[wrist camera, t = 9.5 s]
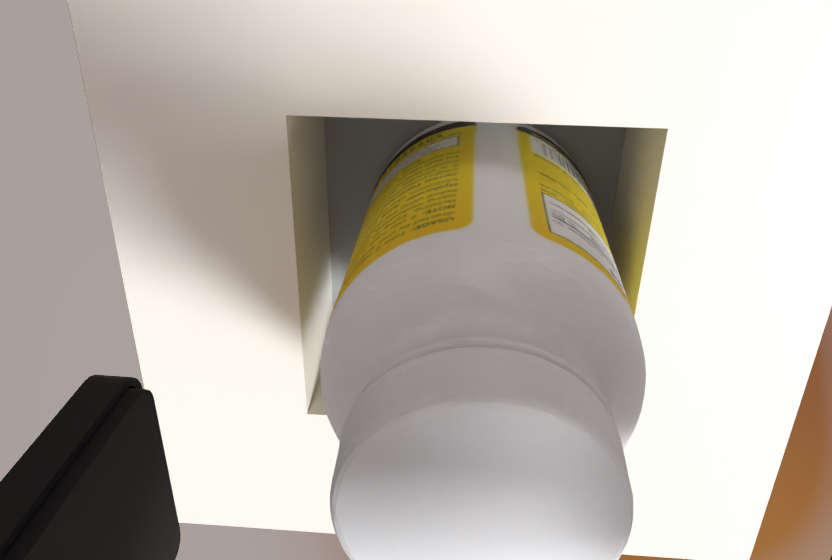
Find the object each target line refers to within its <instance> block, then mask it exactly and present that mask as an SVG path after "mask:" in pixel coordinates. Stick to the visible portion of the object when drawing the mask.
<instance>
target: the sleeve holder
mask: <svg viewBox="0 0 832 560" xmlns="http://www.w3.org/2000/svg"><path fill="white" fill-rule="evenodd" d="M67 2H68V6H69V12H70V17H71V22H72V27H73V32H74V37H75V42H76V47H77V52H78V57H79V62H80V67H81V72H82V77H83V82H84V87H85V92H86V97H87V103H88V107H89V113H90V117H91V123H92V128H93V132H94V138H95V143H96V148H97V153H98V158H99V163H100V168H101V173H102V178H103V183H104V188H105V193H106V198H107V203H108V208H109V213H110V218H111V223H112V228H113V233H114V238H115V243H116V248H117V253H118V258H119V263H120V268H121V273H122V279H123V284H124V289H125V294H126V298H127V303H128V309H129V314H130V319H131V323H132V329H133V334H134V339H135V344H136V349H137V354H138V359H139V364H140V369H141V374H142V379H143V384H144V389H147V390H150V391H151V392H152V394H153V397H154V401H155V406H156V411H157V416H158V421H159V426H160V431H161V436H162V441H163V446H164V451H165V456H166V461H167V466H168V471H169V477H170V482H171V487H172V492H173V497H174V502H175V507H176V512H177V517H178V522H181V523H197V524H209V525H223V526H238V527H251V528H266V529H278V530H293V531H307V532H320V533H334V534H336V533H335V530H334V527H333V523H332V518H331V511H330V490H331V483H332V478H333V474H334V469H335V464H336V459H337V455H338V450H339V443H340V441H339V440H338V438H337V436H336V434H335V432H334V430H333V428H332V426H331V424H330V421H329V419H328V417H327V414H326V410H325V407H324V402H323V396H322V390H321V377H320V364H321V354H322V347H323V343H324V339H325V334H326V329H327V326H328V323H329V320H330V316H331V313H332V310H333V307H334V305H335V303H336V300H337V297H338V294H339V291H340V289H341V286H342V283H343V280H344V277H345V274H346V271H347V268H348V265H349V263H350V260H351V257H352V254H353V251H354V248H355V245H356V243H357V240H358V237H359V234H360V231H361V228H362V225H363V222H364V218H365V215H366V211H367V208H368V205H369V202H370V199H371V196H372V194H373V191H374V188H375V186H376V184H377V181H378V179H379V177H380V175H381V174H382V172H383V170H384V168H385V167H386V165H387V164H388V162H389V161H390V160H391V158H392V157H393V156H394V155H395V153H396V152H397V151H398V150H399V149H400V148H401V147H402V146H403V145H404V144H405V143H406V142H408V141H409V140H410V139H412V138H413V137H414V136H416V135H417V134H419V133H420V132H422V131H423V130H425V129H427V128H429V127H431V126H434V125H436V124H439V123H441V122H444V121H464V122H493V123H521V124H528V125H530V126H532V127H534V128H536V129H538V130H540V131H542V132H543V133H545V134H547V135H548V136H549V137H551V138H552V139H553V140H554V141H556V142H557V143H558V144H559V145H560V146H561V147H562V148H563V149H564V150H565V151H566V152H567V153H568V154H569V156H570V157H571V158H572V159H573V161H574V162H575V164H576V165H577V167H578V168H579V170H580V172H581V174H582V175H583V177H584V179H585V181H586V183H587V186H588V188H589V191H590V193H591V196H592V199H593V202H594V204H595V207H596V210H597V212H598V215H599V219H600V222H601V224H602V227H603V230H604V233H605V236H606V238H607V241H608V244H609V247H610V250H611V253H612V256H613V259H614V262H615V264H616V267H617V270H618V273H619V275H620V278H621V282H622V285H623V287H624V290H625V293H626V296H627V299H628V301H629V304H630V306H631V309H632V312H633V315H634V318H635V321H636V324H637V327H638V330H639V334H640V338H641V342H642V346H643V351H644V356H645V365H646V384H645V395H644V400H643V405H642V410H641V413H640V417H639V420H638V422H637V425H636V427H635V429H634V432H633V434H632V435H631V437H630V439H629V441H628V443H627V444H626V446H625V448H624V449H623V451H624V456H625V460H626V465H627V470H628V475H629V480H630V484H631V489H632V493H633V523H632V528H631V533H630V536H629V539H628V542H627V544H626V546H625V548H624V550H623V552H622V554H626V555H640V556H654V557H667V558H681V559H696V560H749V559H750V556H751V553H752V550H753V547H754V543H755V540H756V537H757V534H758V531H759V528H760V525H761V522H762V519H763V515H764V513H765V509H766V506H767V503H768V500H769V497H770V494H771V491H772V488H773V485H774V482H775V479H776V476H777V473H778V469H779V467H780V463H781V460H782V457H783V454H784V451H785V448H786V445H787V442H788V439H789V436H790V433H791V430H792V426H793V423H794V420H795V417H796V414H797V411H798V408H799V405H800V402H801V399H802V396H803V392H804V390H805V386H806V383H807V380H808V377H809V374H810V371H811V368H812V364H813V362H814V359H815V356H816V353H817V349H818V346H819V343H820V340H821V337H822V334H823V331H824V328H825V325H826V322H827V318H828V316H829V312H830V309H831V306H832V0H67Z"/></svg>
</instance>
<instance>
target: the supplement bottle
mask: <svg viewBox="0 0 832 560" xmlns="http://www.w3.org/2000/svg"><path fill="white" fill-rule="evenodd" d="M320 377H321V390H322V396H323V402H324V407H325V410H326V414H327V417H328V419H329V421H330V424H331V426H332V428H333V430H334V432H335V434H336V436H337V438H338V440H339V441H340V443H339V450H338V455H337V459H336V464H335V469H334V474H333V478H332V483H331V490H330V511H331V518H332V523H333V527H334V530H335V533H336V535H337V538H338V540H339V542H340V544H341V546H342V548H343V549H344V551H345V552H346V554H347V555H348V556H349V558H350V559H351V560H619V558H620V556H621V554H622V552H623V550H624V548H625V546H626V544H627V542H628V539H629V536H630V533H631V528H632V523H633V493H632V489H631V484H630V480H629V475H628V470H627V465H626V460H625V456H624V451H623V449H624V448H625V446H626V444H627V443H628V441H629V439H630V437H631V435H632V434H633V432H634V429H635V427H636V425H637V422H638V420H639V417H640V413H641V410H642V405H643V400H644V395H645V384H646V365H645V356H644V351H643V346H642V342H641V338H640V334H639V330H638V327H637V324H636V321H635V318H634V315H633V312H632V309H631V306H630V304H629V301H628V299H627V296H626V293H625V290H624V287H623V285H622V282H621V278H620V275H619V273H618V270H617V267H616V264H615V262H614V259H613V256H612V253H611V250H610V247H609V244H608V241H607V238H606V236H605V233H604V230H603V227H602V224H601V222H600V219H599V215H598V212H597V210H596V207H595V204H594V202H593V199H592V196H591V193H590V191H589V188H588V186H587V183H586V181H585V179H584V177H583V175H582V174H581V172H580V170H579V168H578V167H577V165H576V164H575V162H574V161H573V159H572V158H571V157H570V156H569V154H568V153H567V152H566V151H565V150H564V149H563V148H562V147H561V146H560V145H559V144H558V143H557V142H556V141H554V140H553V139H552V138H551V137H549V136H548V135H547V134H545V133H543V132H542V131H540V130H538V129H536V128H534V127H532V126H530V125H528V124H521V123H493V122H464V121H444V122H441V123H439V124H436V125H434V126H431V127H429V128H427V129H425V130H423V131H422V132H420V133H419V134H417V135H416V136H414V137H413V138H412V139H410V140H409V141H408V142H406V143H405V144H404V145H403V146H402V147H401V148H400V149H399V150H398V151H397V152H396V153H395V155H394V156H393V157H392V158H391V160H390V161H389V162H388V164H387V165H386V167H385V168H384V170H383V172H382V174H381V175H380V177H379V179H378V181H377V184H376V186H375V188H374V191H373V194H372V196H371V199H370V202H369V205H368V208H367V211H366V215H365V218H364V222H363V225H362V228H361V231H360V234H359V237H358V240H357V243H356V245H355V248H354V251H353V254H352V257H351V260H350V263H349V265H348V268H347V271H346V274H345V277H344V280H343V283H342V286H341V289H340V291H339V294H338V297H337V300H336V303H335V305H334V307H333V310H332V313H331V316H330V320H329V323H328V326H327V329H326V334H325V339H324V343H323V347H322V354H321V364H320Z"/></svg>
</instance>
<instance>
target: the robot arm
mask: <svg viewBox="0 0 832 560" xmlns="http://www.w3.org/2000/svg"><path fill="white" fill-rule="evenodd" d="M179 544H180V527H179V522H178V517H177V512H176V507H175V502H174V497H173V492H172V487H171V482H170V477H169V471H168V466H167V461H166V456H165V451H164V446H163V441H162V436H161V431H160V426H159V421H158V416H157V411H156V406H155V401H154V397H153V394H152V392H151V391H150V390H147V389H142V386H141V383H140V382H139V381H138V379H136V378H132V377H119V376H104V375H93V376H90V377H89V378H88V379H87V380H85V381H84V383H83V384H82V385H81V386H80V387H79V389H78V390H77V391H76V392H75V393H74V395H73V396H72V397H71V398H70V399H69V401H68V402H67V403H66V404H65V406H64V407H63V408H62V409H61V410H60V411H59V413H58V414H57V415H56V416H55V417H54V419H53V420H52V421H51V422H50V423H49V424H48V426H47V427H46V428H45V429H44V430H43V432H42V433H41V434H40V436H39V437H38V438H37V439H36V440H35V441H34V443H33V444H32V445H31V446H30V447H29V449H28V450H27V451H26V452H25V453H24V454H23V456H22V457H21V458H20V459H19V461H18V462H17V463H16V464H15V465H14V466H13V468H12V469H11V470H10V471H9V472H8V474H7V475H6V476H5V477H4V478H3V480H2V481H1V482H0V560H175V558H176V556H177V553H178V549H179ZM830 560H832V556H831V559H830Z"/></svg>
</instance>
